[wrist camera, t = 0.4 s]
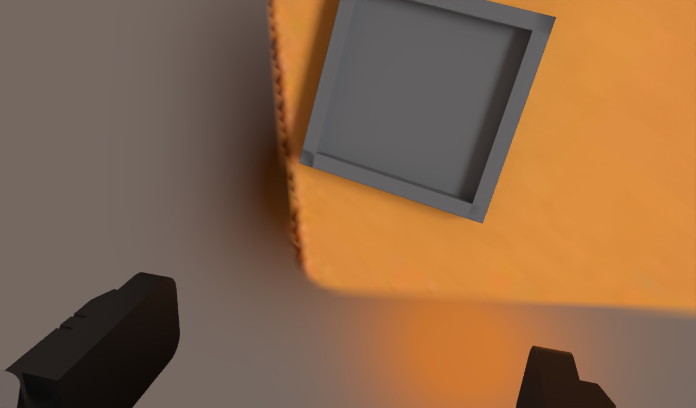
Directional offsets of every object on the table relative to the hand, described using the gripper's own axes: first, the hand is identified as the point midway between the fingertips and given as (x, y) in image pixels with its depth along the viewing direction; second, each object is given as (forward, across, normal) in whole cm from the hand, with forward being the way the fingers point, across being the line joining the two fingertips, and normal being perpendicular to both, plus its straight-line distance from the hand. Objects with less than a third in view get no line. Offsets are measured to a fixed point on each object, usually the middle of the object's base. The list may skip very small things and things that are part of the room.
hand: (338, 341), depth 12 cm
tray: (+26, +1, 0) cm, 26 cm away
